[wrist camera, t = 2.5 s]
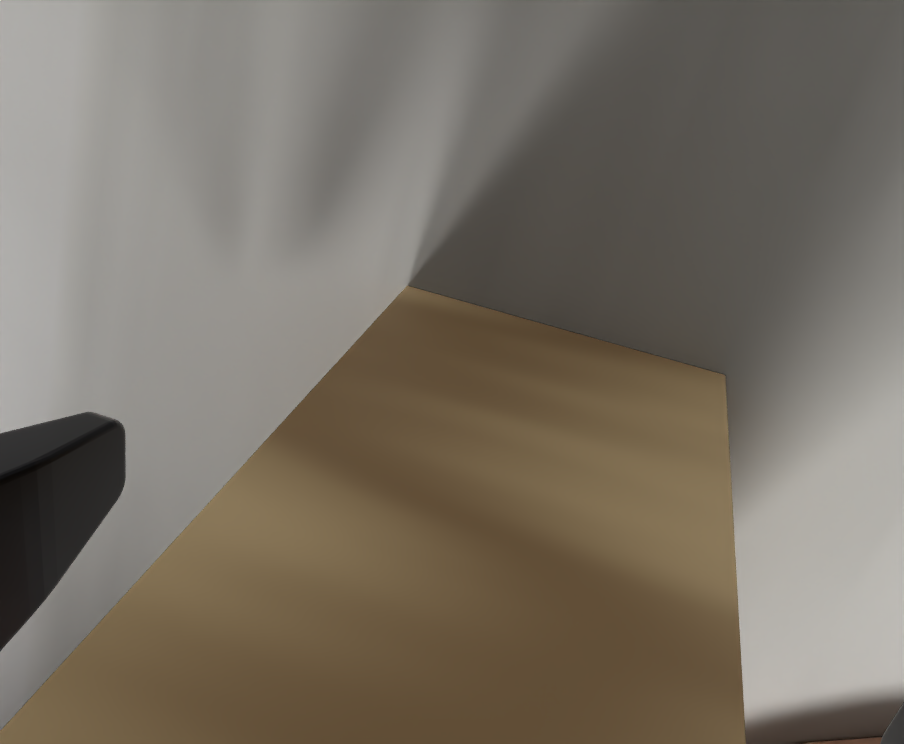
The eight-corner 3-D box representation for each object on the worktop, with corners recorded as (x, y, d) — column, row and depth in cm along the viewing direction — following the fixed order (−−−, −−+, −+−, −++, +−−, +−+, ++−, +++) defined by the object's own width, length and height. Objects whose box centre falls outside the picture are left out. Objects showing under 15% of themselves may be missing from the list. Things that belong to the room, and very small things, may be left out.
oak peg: (365, 531, 12) (-206, 1494, 5) (407, 285, 11) (-440, 1207, 3) (630, 619, 12) (491, 1888, 4) (724, 374, 10) (812, 1875, 2)
